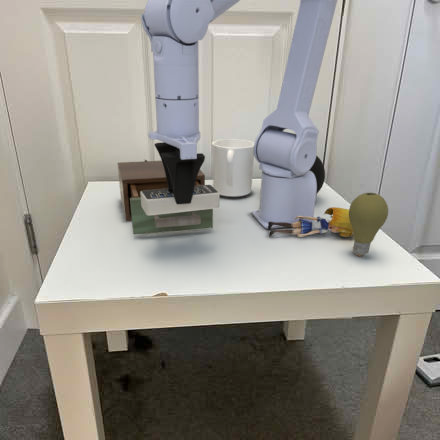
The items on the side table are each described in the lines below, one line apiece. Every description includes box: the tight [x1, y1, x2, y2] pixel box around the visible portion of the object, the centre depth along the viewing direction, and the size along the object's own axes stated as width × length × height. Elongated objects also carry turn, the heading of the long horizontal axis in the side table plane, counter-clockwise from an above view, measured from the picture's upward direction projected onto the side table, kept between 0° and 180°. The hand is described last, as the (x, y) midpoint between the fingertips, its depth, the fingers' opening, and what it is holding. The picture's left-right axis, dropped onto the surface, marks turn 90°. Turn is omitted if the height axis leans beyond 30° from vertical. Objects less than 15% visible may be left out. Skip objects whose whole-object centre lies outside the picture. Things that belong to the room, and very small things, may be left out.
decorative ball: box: [309, 155, 326, 195], centre depth 91 cm, size 10×10×10 cm
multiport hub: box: [140, 184, 220, 216], centre depth 67 cm, size 4×11×2 cm, turn 110°
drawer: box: [129, 180, 214, 235], centre depth 76 cm, size 15×13×6 cm
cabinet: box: [117, 160, 206, 222], centre depth 86 cm, size 12×15×8 cm
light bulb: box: [348, 192, 389, 258], centre depth 68 cm, size 6×6×10 cm
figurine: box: [267, 206, 353, 238], centre depth 76 cm, size 5×5×15 cm
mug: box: [211, 138, 255, 200], centre depth 93 cm, size 11×9×10 cm
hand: (179, 197), depth 67 cm, fingers closed on multiport hub, 4 cm apart
